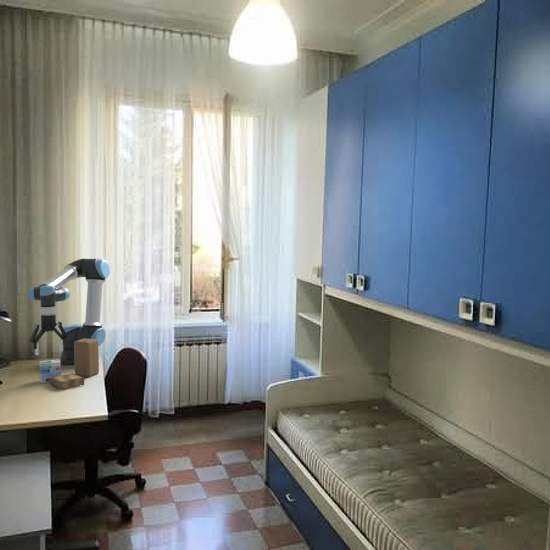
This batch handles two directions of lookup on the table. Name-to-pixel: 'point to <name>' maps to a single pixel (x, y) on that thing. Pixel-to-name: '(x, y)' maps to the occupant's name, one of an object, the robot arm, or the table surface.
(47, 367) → the light bulb box
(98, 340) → the robot arm
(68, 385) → the brown open tray
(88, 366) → the wooden block
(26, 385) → the table surface
